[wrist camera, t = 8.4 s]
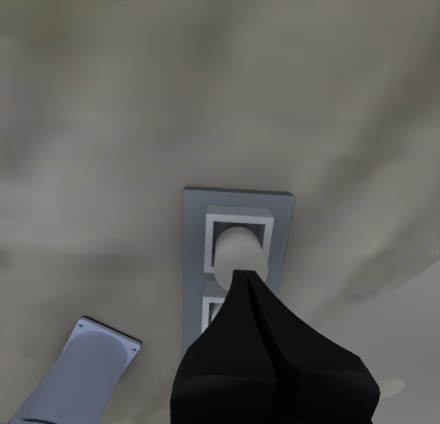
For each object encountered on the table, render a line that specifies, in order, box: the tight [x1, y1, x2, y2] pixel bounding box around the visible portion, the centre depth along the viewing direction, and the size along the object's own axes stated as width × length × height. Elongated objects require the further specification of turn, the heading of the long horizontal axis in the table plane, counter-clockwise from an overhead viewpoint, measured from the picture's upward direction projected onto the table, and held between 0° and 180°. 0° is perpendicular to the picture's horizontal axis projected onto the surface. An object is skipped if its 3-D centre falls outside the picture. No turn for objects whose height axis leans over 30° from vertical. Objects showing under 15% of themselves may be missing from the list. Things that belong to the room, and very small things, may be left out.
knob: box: [214, 227, 268, 291], centre depth 15 cm, size 4×4×4 cm
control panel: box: [182, 186, 295, 359], centre depth 21 cm, size 24×10×4 cm, turn 177°
